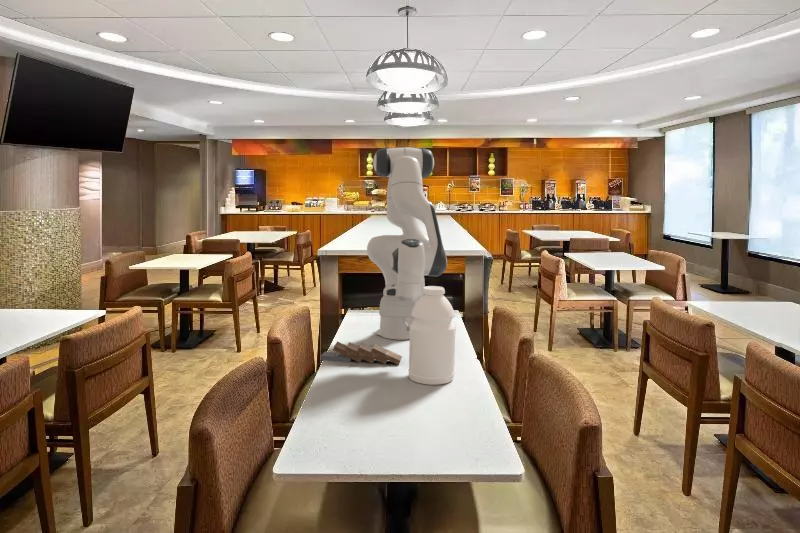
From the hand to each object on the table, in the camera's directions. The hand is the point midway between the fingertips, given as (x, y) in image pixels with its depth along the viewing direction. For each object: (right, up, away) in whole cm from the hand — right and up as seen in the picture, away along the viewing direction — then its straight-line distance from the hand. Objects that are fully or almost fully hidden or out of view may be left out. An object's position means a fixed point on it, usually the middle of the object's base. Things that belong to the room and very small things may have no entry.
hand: (409, 331), depth 191 cm
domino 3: (-7, -10, +2) cm, 12 cm away
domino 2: (-12, -9, +3) cm, 15 cm away
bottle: (+6, -13, -13) cm, 19 cm away
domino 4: (-3, -10, +1) cm, 10 cm away
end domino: (-19, -9, +4) cm, 22 cm away
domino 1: (-16, -9, +3) cm, 19 cm away
